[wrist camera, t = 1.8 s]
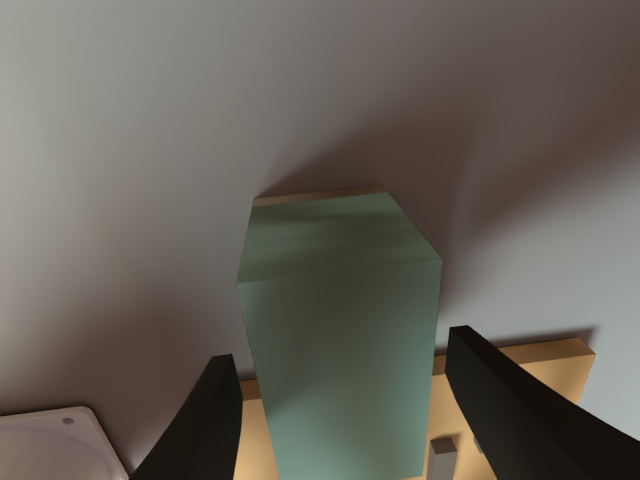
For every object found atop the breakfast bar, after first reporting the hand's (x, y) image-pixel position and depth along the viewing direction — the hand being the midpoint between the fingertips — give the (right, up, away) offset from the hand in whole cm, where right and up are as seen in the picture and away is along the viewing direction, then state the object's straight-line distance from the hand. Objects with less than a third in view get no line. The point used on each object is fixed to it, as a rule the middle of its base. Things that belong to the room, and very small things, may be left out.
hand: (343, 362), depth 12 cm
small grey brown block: (+6, -9, +9) cm, 14 cm away
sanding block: (0, +2, +4) cm, 5 cm away
